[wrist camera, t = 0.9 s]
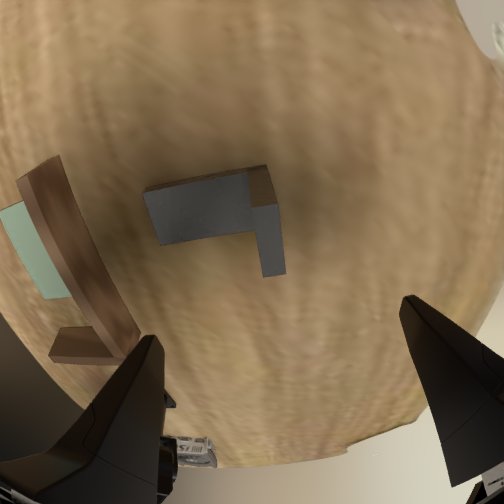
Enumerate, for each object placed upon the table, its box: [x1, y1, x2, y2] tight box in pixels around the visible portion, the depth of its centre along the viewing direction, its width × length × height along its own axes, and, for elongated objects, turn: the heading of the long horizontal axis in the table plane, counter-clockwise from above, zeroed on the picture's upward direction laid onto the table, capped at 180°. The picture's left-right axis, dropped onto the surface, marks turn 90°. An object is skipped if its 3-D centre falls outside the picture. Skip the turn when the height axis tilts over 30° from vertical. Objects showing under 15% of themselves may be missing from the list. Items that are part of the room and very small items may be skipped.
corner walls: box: [16, 155, 141, 365], centre depth 20 cm, size 18×10×4 cm, turn 9°
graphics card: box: [163, 435, 217, 468], centre depth 46 cm, size 17×4×12 cm
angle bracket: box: [142, 165, 286, 278], centre depth 17 cm, size 8×4×6 cm, turn 99°
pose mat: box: [0, 201, 72, 299], centre depth 20 cm, size 10×6×1 cm, turn 9°
